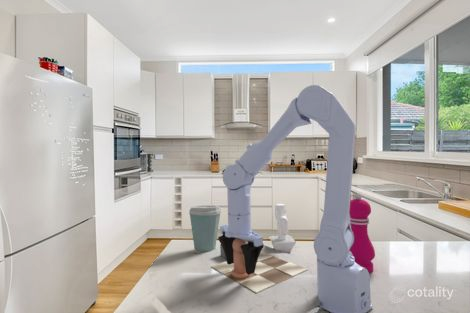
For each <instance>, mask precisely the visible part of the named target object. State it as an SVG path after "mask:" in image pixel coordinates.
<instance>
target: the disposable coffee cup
mask: <svg viewBox="0 0 470 313" xmlns="http://www.w3.org/2000/svg"><path fill="white" fill-rule="evenodd" d="M188 214H189V219H190V226H191V232H192V241H193V247H194V250H195V253H196V252H197V253H196V254H198V253H200V254H202V253H207V252H211V251H214V250H216V246H217V240H218V239H217V238H218V231H219V227H220V226H219V225H220V218H221V214H222V210H221V207H220V206H219V205H215V204H214V205H212V204H204V205H203V204H202V205H195V206H194V205H193V206H191V207H190V209H189V213H188Z"/></svg>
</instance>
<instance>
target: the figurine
mask: <svg viewBox="0 0 470 313" xmlns="http://www.w3.org/2000/svg"><path fill="white" fill-rule="evenodd" d="M274 217H275V219H276V221H277V222H276V226H277V229H276V230H277V235H268V237H269V240H270V242H271V244H272V246H273V249H274V250H275V251H279V252H282V253H291V252H292V250H293V248H294V247H295V245H296V243H297V242H296V240H295V239H294V237H292V236H291V235H289V220H288V218H287V208H286V203H276V204H275V205H274Z"/></svg>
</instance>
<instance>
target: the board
mask: <svg viewBox="0 0 470 313" xmlns="http://www.w3.org/2000/svg"><path fill="white" fill-rule="evenodd" d="M210 267H211V268H212V269H214V270H215V271H217V272H218V273H220V274H223V275H224V276H226V277H227V278H228V279H230V280H233V281H234V282H236V283H238V284H239V285H241V286H243V287H244V288H246V289H248V290H250V291H251V292H252V293H255V294H259V293H261V292H263V291H265V290H267V289H269V288H272V287H274V286H276V285H278V284H280V283H283V282H285V281H287V280H290V279H291V278H294V277H296V276H298V275H300V274H303V273H304V272H307V271H308V270H309V269H308V268H307V267H303V266H301V265H299V264H295V263H293V262H291V261H286V260H283V259H281V258H278V257H276V256H274V255H273V254H269V253H267V252H265V251H263V250H261V252H260V254H259V257H258V260H257V264H256V268H255V272H254V273H252V274H250V276H249V277H248V278H245V279H236V278H233V277H232V270H233V269H234V263H232V264H227V261H226V260H225V261H223V262H221V263H218V264H214V265H212V266H210Z"/></svg>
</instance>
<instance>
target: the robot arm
mask: <svg viewBox="0 0 470 313" xmlns="http://www.w3.org/2000/svg"><path fill="white" fill-rule="evenodd" d="M311 120H312V121H314V122H316V123H317V124H318V125H319V126H320V127H321V128H323V130H324V131H325V132H326V133H327V134H328V138H329V139H328V149H327V150H328V151H327V164H326V177H325V190H324V192H325V193H324V203H323V212H322V213H323V214H322V217H321V220H320V224H319V232H318V234H317V235H316V237H315V238H314V241H313V250H314V253H315V255H316V275H317V276H316V277H317V278H316V280H317V298H318V300H319V301H320V303H319V304H317V306H318V307H319V308H321V309H323V310H326V311H327V312H330V313H367V312H369V311H370V310H371V309H372V308H373V304H372V301H371V300H372V299H371V298H372V297H371V276H370V273H369V272H368V270H367V269H365V268H364V267H361V266H360V265H358V264H357V263H356V262H355V258H354V257H353V255H352V253H351V251H349V250H350V247H351V246H352V245H353V242H354V235H353V232H352V230H351V225H350V220H351V219H350V214H349V211H350V200H351V198H352V197H351V196H352V184H353V182H352V181H353V172H354V169H353V168H354V157H355V144H356V133H357V132H356V130H357V128H356V123H355V122H354V121H353V119H352V118H351V116H350V114H349V113H348V111H347V110H346V109H345V107H344V105H343V104H342V103H341V101H340V100H339V99H338V98H337V97H336V96H335V95H334V93H332V92H330V91H329V90H327V89H326V88H324V87H323V86H321V85H318V84H312V85H311V84H310V85H309V86H308V85H307V86H306V87H304V88H303V89H302V90H300V92H299V94H298V95H297V96H296V97H295V98H293V99H292V100H291V101H290V104H289V105H288V107H287V108H286V110H285V111H284V113H283V114H282V115H281V116H280V117H279V118H278V120H277V121H276V123H275V124H274V125H273V126H272V128H271V129H270V130H269V132H268V133H267V134H266V135H265V136H264V137H263V138H262V140H261V141H254V142H253V143H249V144H248V145H247V146H246V149H247V150H246V151H245V152H244V153H243V154H242V155H241V156H240V157H239V158H237V159H236V160H235V161H234V162H235V163H234V164H231V165H228V166H226V167H225V169H224V171H223V173H222V182H223V184H224V186H225V187H227V188H226V190H227V194H226V195H227V224H224V225H223V224H222V225H220V226H219V234H221V235H220V236H217V238H218V239H217V240H218V241H219V244H221V245H222V247H223V250H224V253H225V257H226V258H225V262H226V261H227V264H232V263H234V255H233V251H234V249H233V246H232V245H233V241H234V240H235V239H236V238H240V239H241V240H243V241H246V242H247V244H244V245H241V249H242V252H243V255H244V259H245V269H246V274H248V275H249V274H252V273H254V272H255V268H256V264H257V260H258V257H259V254H260V252H261V251H263V249H264V246H265V244H264V242H263V241H264V238H263V237H264V236H262V235H259V234H258V233H257V232H255V231H254V230H252V212H251V210H252V209H251V207H252V206H251V187H252V185H253V183H254V180H255V177H256V176H257V175H258V173H260V172H261V170H263V168H264V167H265V166H266V165H267V164H268V163H269V162H270V161H271V160H272V159H273V157H272V156H273V151H274V149H275V148H277V147H278V146H279V145H280V144H281V143H282V142H283V141H284V140H285V139H286V138H287V137H288V136H289V135H290V134H291V133H292V132H293V131H295V129H296V128H298V127H303V126H308V125H311V124H312V121H311Z"/></svg>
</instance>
